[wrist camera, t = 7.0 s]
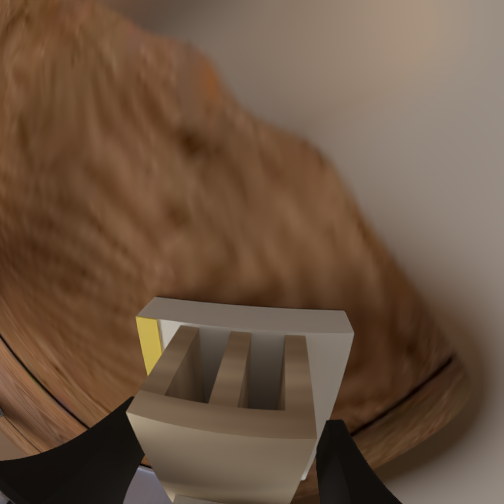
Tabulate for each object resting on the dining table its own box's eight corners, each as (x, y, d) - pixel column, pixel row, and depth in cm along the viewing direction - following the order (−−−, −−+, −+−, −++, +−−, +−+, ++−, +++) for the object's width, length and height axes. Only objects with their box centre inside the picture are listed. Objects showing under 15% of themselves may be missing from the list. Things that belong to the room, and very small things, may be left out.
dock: (304, 459, 15) (304, 480, 13) (183, 446, 16) (176, 467, 14) (344, 310, 12) (354, 334, 10) (155, 296, 13) (135, 316, 11)
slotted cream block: (277, 475, 13) (273, 535, 9) (203, 467, 14) (187, 524, 9) (305, 335, 10) (317, 438, 5) (180, 325, 11) (125, 412, 6)
